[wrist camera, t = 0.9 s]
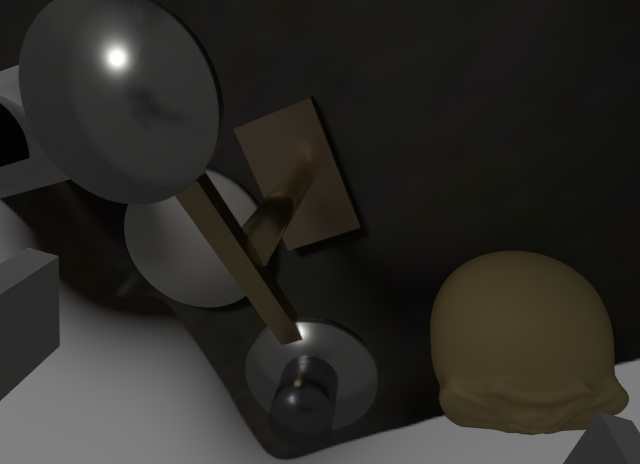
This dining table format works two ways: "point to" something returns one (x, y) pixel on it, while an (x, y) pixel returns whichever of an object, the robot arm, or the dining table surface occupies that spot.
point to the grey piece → (20, 144)
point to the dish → (185, 247)
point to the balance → (203, 183)
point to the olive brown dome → (523, 346)
